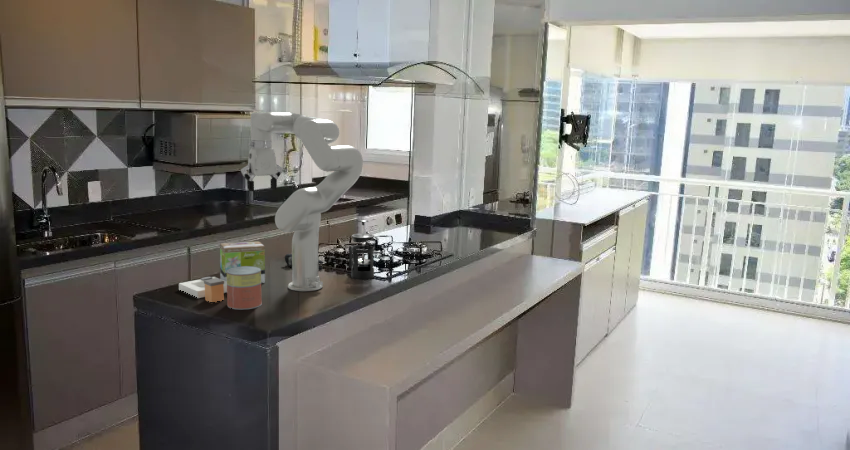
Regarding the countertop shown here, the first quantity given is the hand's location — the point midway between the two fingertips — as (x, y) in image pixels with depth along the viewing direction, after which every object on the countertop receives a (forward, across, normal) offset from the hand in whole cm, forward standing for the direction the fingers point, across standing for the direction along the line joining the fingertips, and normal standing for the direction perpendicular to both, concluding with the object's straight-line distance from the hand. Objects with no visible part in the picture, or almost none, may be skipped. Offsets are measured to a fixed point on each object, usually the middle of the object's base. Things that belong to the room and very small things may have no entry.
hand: (262, 190), depth 248 cm
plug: (+34, -29, -16) cm, 48 cm away
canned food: (+35, -24, -27) cm, 50 cm away
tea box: (+35, -10, -1) cm, 36 cm away
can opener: (+35, +21, +4) cm, 41 cm away
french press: (+35, +30, -23) cm, 52 cm away
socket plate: (+34, -26, -3) cm, 43 cm away
